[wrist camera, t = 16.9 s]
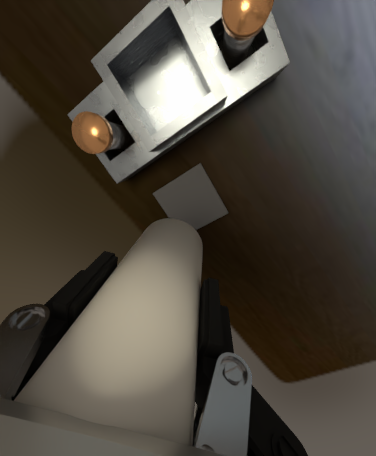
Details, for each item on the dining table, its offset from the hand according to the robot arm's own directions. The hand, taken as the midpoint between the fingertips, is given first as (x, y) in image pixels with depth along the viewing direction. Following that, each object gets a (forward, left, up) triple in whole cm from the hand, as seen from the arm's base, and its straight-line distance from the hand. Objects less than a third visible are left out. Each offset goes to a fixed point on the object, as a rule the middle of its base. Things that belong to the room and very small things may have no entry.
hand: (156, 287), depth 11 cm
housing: (+12, -5, -19) cm, 23 cm away
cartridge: (0, 0, -5) cm, 5 cm away
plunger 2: (+12, -13, -19) cm, 26 cm away
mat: (0, 0, -19) cm, 19 cm away
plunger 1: (+12, +3, -19) cm, 22 cm away
